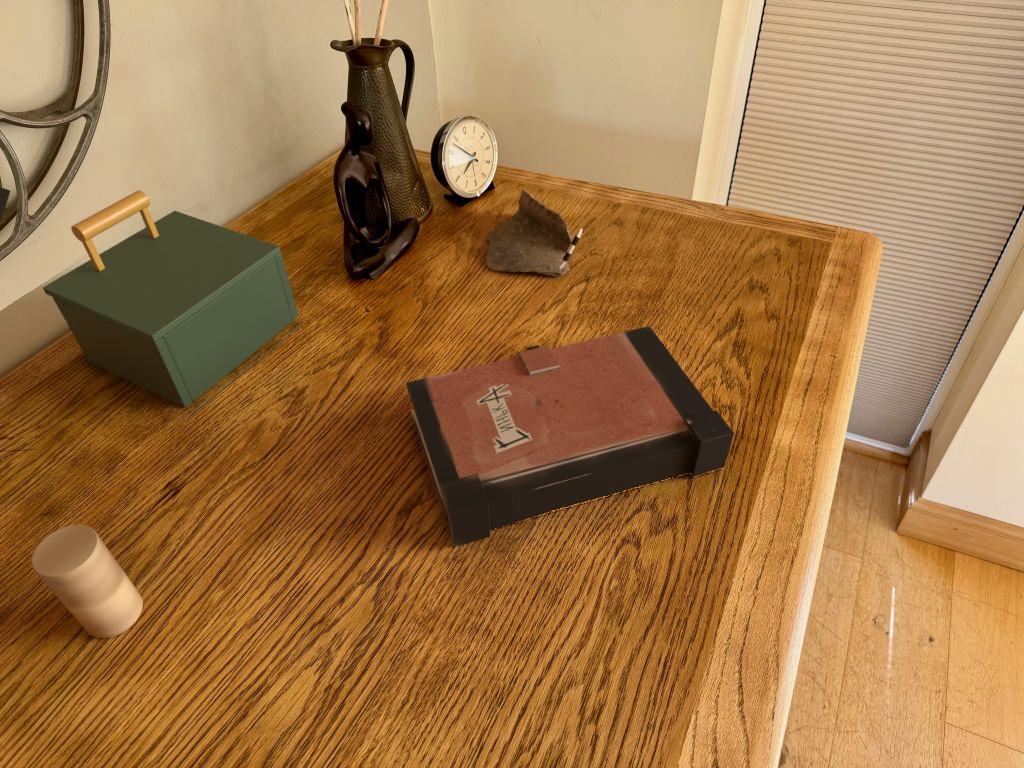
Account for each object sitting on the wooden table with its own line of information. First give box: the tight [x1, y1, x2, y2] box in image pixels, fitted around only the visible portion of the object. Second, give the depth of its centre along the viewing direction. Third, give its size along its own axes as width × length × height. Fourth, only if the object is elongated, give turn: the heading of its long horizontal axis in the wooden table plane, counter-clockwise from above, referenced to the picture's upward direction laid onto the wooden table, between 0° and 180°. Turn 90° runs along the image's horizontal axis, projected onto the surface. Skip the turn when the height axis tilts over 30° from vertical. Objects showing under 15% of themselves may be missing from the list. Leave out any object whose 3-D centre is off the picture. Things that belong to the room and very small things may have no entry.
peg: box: [31, 524, 144, 639], centre depth 55 cm, size 4×4×9 cm
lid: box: [42, 190, 282, 342], centre depth 73 cm, size 16×17×6 cm
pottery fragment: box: [485, 188, 584, 278], centre depth 95 cm, size 18×11×5 cm
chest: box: [52, 253, 302, 418], centre depth 79 cm, size 15×17×10 cm
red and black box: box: [405, 325, 735, 548], centre depth 69 cm, size 26×18×5 cm
